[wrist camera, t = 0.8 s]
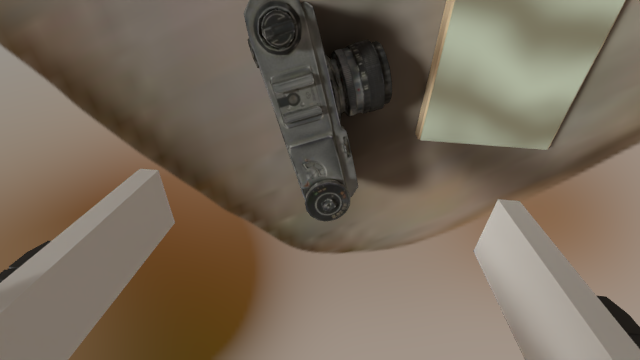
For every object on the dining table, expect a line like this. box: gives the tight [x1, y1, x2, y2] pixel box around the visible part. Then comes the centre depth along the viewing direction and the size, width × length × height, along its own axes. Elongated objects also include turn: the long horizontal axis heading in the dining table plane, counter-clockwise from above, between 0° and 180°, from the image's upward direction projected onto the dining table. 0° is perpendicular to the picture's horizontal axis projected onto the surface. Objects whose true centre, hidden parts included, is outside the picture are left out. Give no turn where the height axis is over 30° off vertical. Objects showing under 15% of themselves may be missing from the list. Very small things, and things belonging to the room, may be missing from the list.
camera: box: [244, 0, 392, 221], centre depth 23 cm, size 18×9×10 cm, turn 16°
